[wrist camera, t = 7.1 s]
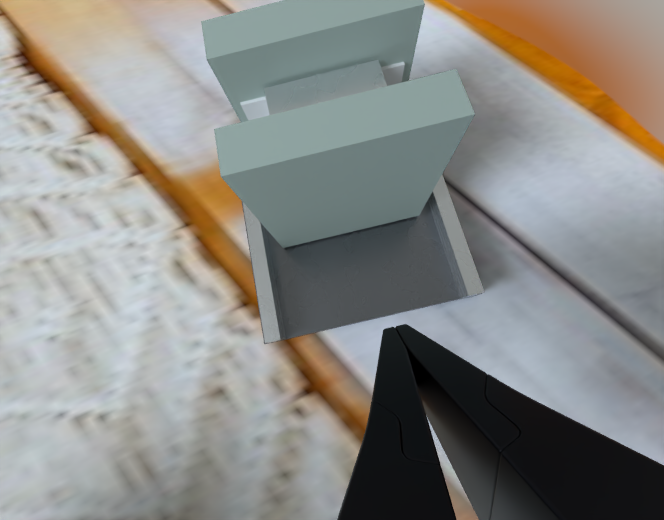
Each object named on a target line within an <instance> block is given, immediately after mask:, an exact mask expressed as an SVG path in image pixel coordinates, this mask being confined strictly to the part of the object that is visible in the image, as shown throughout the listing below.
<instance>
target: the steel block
mask: <svg viewBox="0 0 664 520" xmlns="http://www.w3.org/2000/svg"><path fill="white" fill-rule="evenodd" d="M386 86H387V84H386V81H385V78H384V75H383V72H382V69H381V66H380V63H379V60H374V61H370V62H366V63H362V64H358V65H354V66H350V67H346V68H342V69H338V70H334V71H330V72H326V73H322V74H318V75H314V76H311V77H307V78H303V79H299V80H295V81H291V82H287V83H283V84H279V85H275V86H271V87H267V88H264V91H265V96H266V101H267V105H268V110H269V115H273V114H277V113H281V112H285V111H289V110H293V109H297V108H301V107H305V106H309V105H313V104H317V103H321V102H325V101H329V100H333V99H337V98H341V97H345V96H349V95H353V94H357V93H361V92H365V91H369V90H374V89H378V88H382V87H386Z"/></svg>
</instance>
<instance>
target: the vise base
mask: <svg viewBox="0 0 664 520" xmlns="http://www.w3.org/2000/svg"><path fill="white" fill-rule="evenodd" d="M242 206H243V212H244V218H245V224H246V231H247V237H248V243H249V250H250V256H251V262H252V269H253V275H254V281H255V287H256V294H257V300H258V306H259V313H260V319H261V325H262V331H263V338H264V344H268V343H273V342H277V341H281V340H286V339H290V338H294V337H299V336H303V335H307V334H312V333H316V332H320V331H324V330H329V329H333V328H337V327H342V326H346V325H350V324H355V323H359V322H363V321H367V320H372V319H376V318H380V317H385V316H389V315H393V314H398V313H402V312H406V311H411V310H415V309H419V308H423V307H428V306H432V305H436V304H441V303H445V302H449V301H454V300H458V299H462V298H466V297H471V296H475V295H479V294H482V293H484V289H483V286H482V283H481V280H480V278H479V275H478V272H477V269H476V266H475V264H474V261H473V258H472V255H471V253H470V250H469V247H468V244H467V241H466V239H465V236H464V233H463V230H462V227H461V225H460V222H459V219H458V216H457V214H456V211H455V208H454V205H453V202H452V200H451V197H450V194H449V191H448V189H447V186H446V183H445V180H444V177H443V175H441V177H440V179H439V181H438V182H437V184H436V186H435V188H434V190H433V191H432V193H431V195H430V197H429V199H428V200H427V202H426V204H425V206H424V208H423V210H422V211H421V213H420V215H419V216H415V217H411V218H407V219H403V220H398V221H394V222H390V223H386V224H382V225H378V226H373V227H369V228H365V229H361V230H357V231H352V232H348V233H344V234H340V235H336V236H331V237H327V238H323V239H319V240H315V241H311V242H306V243H302V244H298V245H294V246H290V247H285V248H282V246H281V245H280V244H279V243H278V242H277V241H276V240H275V238H274V237H273V236H272V235H271V234H270V233H269V231H268V230H267V229H266V228H265V227H264V226H263V225H262V223H261V222H260V221H259V220H258V219H257V218H256V216H255V215H254V214H253V213H252V212H251V211H250V210H249V208H248V207H247V206H246V205H245V204H244V203H243V201H242Z"/></svg>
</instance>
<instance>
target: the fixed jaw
mask: <svg viewBox="0 0 664 520" xmlns="http://www.w3.org/2000/svg"><path fill="white" fill-rule="evenodd" d="M424 5H425V4H424V1H423V0H283V1H279V2H275V3H272V4H268V5H264V6H260V7H256V8H252V9H248V10H244V11H240V12H237V13H233V14H229V15H225V16H221V17H217V18H213V19H209V20H205V21H202V22H201V23H202V30H203V37H204V44H205V51H206V58H207V61H208V63H209V65H210V66H211V68H212V70H213V72H214V74H215V76H216V77H217V79H218V81H219V83H220V85H221V87H222V88H223V90H224V92H225V94H226V96H227V98H228V99H229V101H230V103H231V105H232V107H233V109H234V110H235V112H236V114H237V116H238V118H239V120H240V121H241V122H245V121H249V120H253V119H257V118H261V117H265V116H269V110H268V105H267V101H266V96H265V91H264V88H267V87H271V86H275V85H279V84H283V83H287V82H291V81H295V80H299V79H303V78H307V77H311V76H314V75H318V74H322V73H326V72H330V71H334V70H338V69H342V68H346V67H350V66H354V65H358V64H362V63H366V62H370V61H374V60H379V63H380V66H381V69H382V72H383V75H384V78H385V81H386V84H387V86H390V85H394V84H398V83H402V82H406V81H408V80H409V76H410V71H411V66H412V62H413V57H414V52H415V47H416V43H417V38H418V33H419V29H420V24H421V19H422V14H423V10H424Z"/></svg>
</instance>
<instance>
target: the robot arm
mask: <svg viewBox="0 0 664 520" xmlns="http://www.w3.org/2000/svg"><path fill="white" fill-rule="evenodd" d="M426 415H427V417H428V419H429V421H430V423H431V425H432V427H433V429H434V431H435V433H436V435H437V437H438V439H439V441H440V443H441V445H442V447H443V449H444V451H445V453H446V455H447V457H448V459H449V461H450V463H451V465H452V467H453V469H454V471H455V473H456V475H457V477H458V479H459V481H460V483H461V485H462V487H463V489H464V491H465V493H466V495H467V497H468V498H469V500H470V502H471V504H472V506H473V508H474V510H475V512H476V514H477V516H478V518H479V520H664V465H662V464H660V463H658V462H656V461H654V460H652V459H650V458H648V457H646V456H644V455H642V454H640V453H638V452H636V451H634V450H632V449H630V448H628V447H626V446H624V445H622V444H620V443H618V442H616V441H614V440H612V439H610V438H608V437H606V436H604V435H602V434H600V433H598V432H596V431H594V430H592V429H590V428H588V427H586V426H584V425H582V424H580V423H578V422H576V421H574V420H572V419H570V418H568V417H566V416H564V415H562V414H561V413H559V412H557V411H555V410H553V409H551V408H549V407H547V406H545V405H543V404H541V403H539V402H537V401H535V400H533V399H531V398H529V397H527V396H525V395H523V394H522V393H520V392H518V391H516V390H514V389H513V388H511V387H509V386H507V385H506V384H504V383H502V382H500V381H499V380H497V379H496V378H494V377H492V376H491V375H487V374H486V373H485V372H483V371H482V370H480V369H479V368H477V367H475V366H474V365H472V364H470V363H469V362H467V361H466V360H464V359H462V358H461V357H459V356H457V355H456V354H454V353H452V352H451V351H449V350H448V349H446V348H444V347H443V346H441V345H439V344H438V343H436V342H435V341H433V340H431V339H430V338H428V337H426V336H425V335H423V334H422V333H420V332H418V331H417V330H415V329H413V328H412V327H410V326H408V325H406V324H404V325H400V326H396V327H395V328H394V327H391V328H387V329H384V330H383V335H382V341H381V347H380V353H379V359H378V366H377V372H376V378H375V384H374V390H373V396H372V402H371V407H370V413H369V418H368V423H367V427H366V431H365V434H364V438H363V441H362V445H361V448H360V451H359V454H358V457H357V460H356V463H355V466H354V469H353V472H352V476H351V479H350V482H349V485H348V488H347V491H346V494H345V497H344V500H343V503H342V507H341V510H340V513H339V516H338V519H337V520H456V516H455V513H454V509H453V506H452V503H451V499H450V496H449V492H448V489H447V485H446V482H445V478H444V475H443V472H442V468H441V466H440V461H439V458H438V455H437V451H436V448H435V444H434V441H433V437H432V434H431V430H430V427H429V423H428V420H427V417H426Z"/></svg>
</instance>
